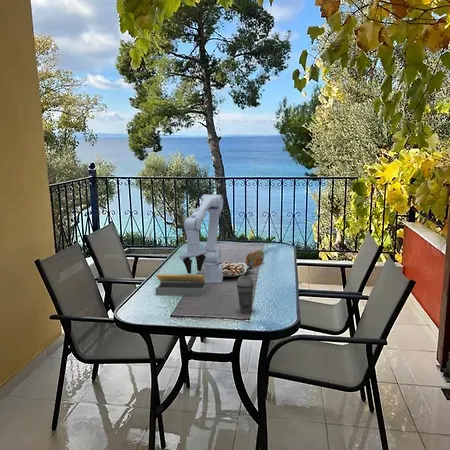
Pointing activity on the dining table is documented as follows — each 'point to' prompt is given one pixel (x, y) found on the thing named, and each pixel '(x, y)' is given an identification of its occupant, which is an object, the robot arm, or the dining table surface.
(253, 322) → the dining table surface
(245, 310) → the beverage cup
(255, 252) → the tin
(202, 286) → the cable duct
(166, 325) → the dining table surface
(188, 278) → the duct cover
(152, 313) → the dining table surface
